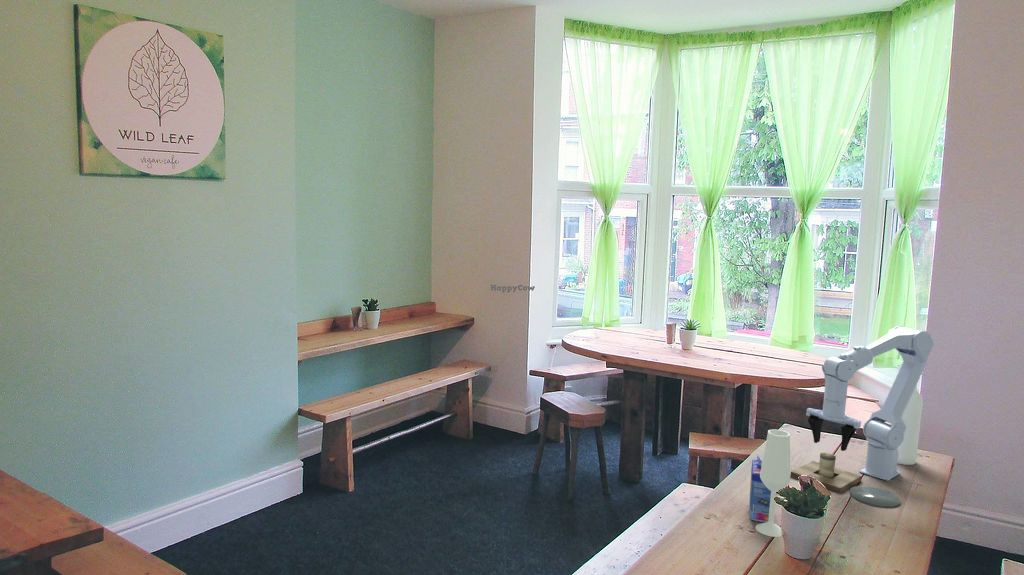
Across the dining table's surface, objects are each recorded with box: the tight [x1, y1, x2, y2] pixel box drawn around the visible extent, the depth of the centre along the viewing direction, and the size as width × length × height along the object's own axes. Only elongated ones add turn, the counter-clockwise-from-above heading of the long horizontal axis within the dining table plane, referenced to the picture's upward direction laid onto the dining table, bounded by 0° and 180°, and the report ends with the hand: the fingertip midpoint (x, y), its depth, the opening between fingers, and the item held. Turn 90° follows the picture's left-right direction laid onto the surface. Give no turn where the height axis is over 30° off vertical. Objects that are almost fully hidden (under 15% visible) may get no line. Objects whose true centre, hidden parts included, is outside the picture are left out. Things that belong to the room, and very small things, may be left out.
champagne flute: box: [755, 429, 791, 538], centre depth 160 cm, size 7×7×24 cm
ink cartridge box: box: [748, 455, 771, 523], centre depth 169 cm, size 10×6×14 cm, turn 161°
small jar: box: [818, 452, 837, 479], centre depth 193 cm, size 4×4×7 cm
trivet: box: [849, 485, 901, 508], centre depth 182 cm, size 12×12×1 cm
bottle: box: [897, 384, 924, 466], centre depth 209 cm, size 8×8×30 cm
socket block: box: [790, 460, 863, 494], centre depth 194 cm, size 14×14×2 cm
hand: (830, 446), depth 193 cm, fingers open, 7 cm apart
